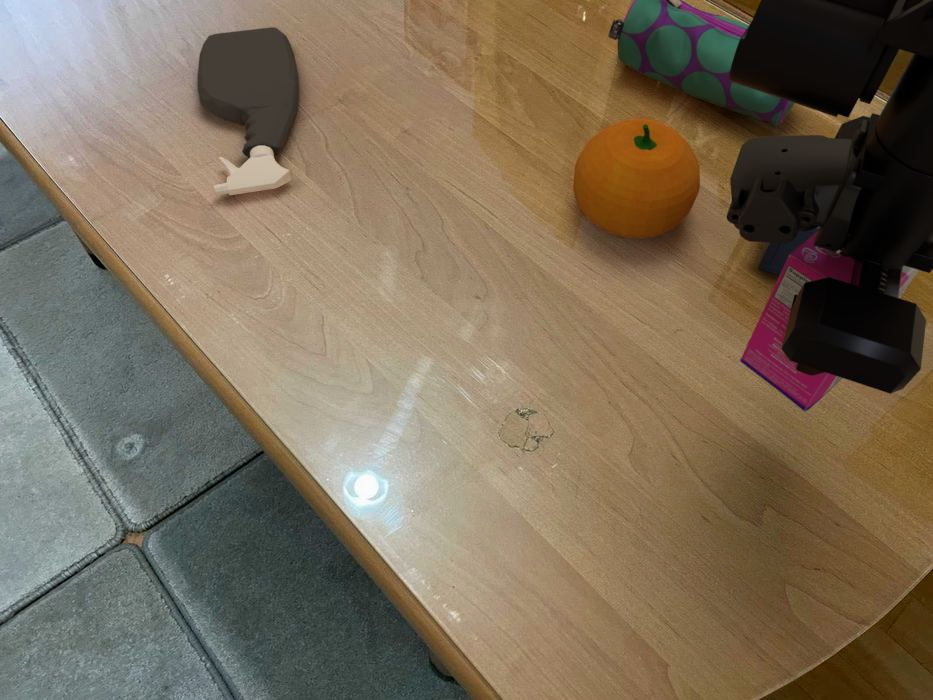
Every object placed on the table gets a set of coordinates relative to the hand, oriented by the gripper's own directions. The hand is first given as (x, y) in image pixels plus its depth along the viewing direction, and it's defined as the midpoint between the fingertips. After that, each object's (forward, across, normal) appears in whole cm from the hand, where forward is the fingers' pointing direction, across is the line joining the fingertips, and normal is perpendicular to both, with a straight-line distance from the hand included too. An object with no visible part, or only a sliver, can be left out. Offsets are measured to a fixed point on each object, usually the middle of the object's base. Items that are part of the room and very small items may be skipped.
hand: (813, 327), depth 50 cm
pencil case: (+13, -40, -14) cm, 45 cm away
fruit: (+13, -19, -16) cm, 28 cm away
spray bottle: (+13, -16, -57) cm, 61 cm away
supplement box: (+4, 0, 0) cm, 5 cm away
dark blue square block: (+13, -21, +2) cm, 25 cm away
